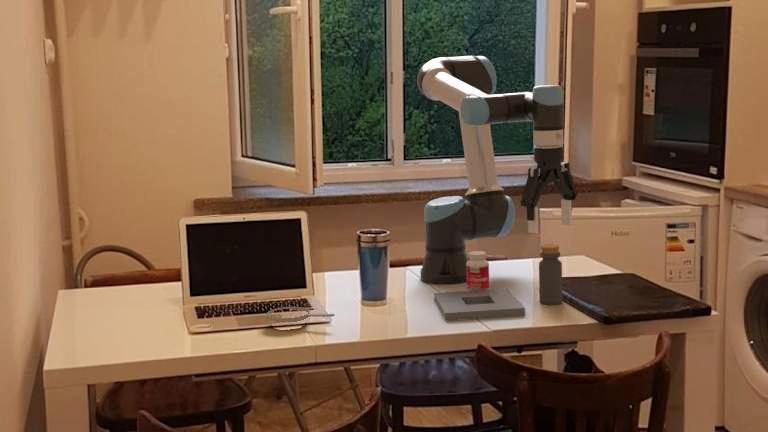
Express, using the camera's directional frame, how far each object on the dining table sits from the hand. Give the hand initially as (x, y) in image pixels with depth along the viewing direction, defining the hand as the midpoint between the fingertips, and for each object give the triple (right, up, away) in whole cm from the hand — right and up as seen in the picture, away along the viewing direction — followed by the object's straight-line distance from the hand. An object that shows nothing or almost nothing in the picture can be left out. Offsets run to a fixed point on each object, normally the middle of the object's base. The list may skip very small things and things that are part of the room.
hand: (550, 228), depth 256 cm
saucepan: (-63, -25, -8) cm, 68 cm away
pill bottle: (-17, -18, +17) cm, 30 cm away
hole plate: (-18, -20, +1) cm, 28 cm away
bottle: (+1, -19, +4) cm, 20 cm away
